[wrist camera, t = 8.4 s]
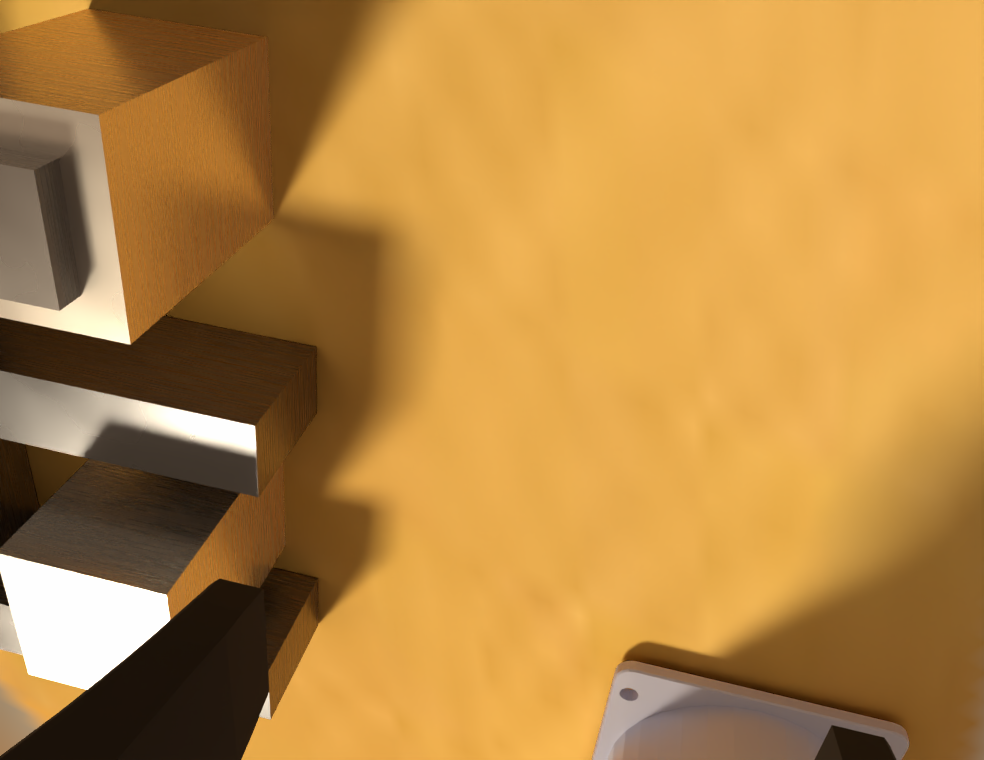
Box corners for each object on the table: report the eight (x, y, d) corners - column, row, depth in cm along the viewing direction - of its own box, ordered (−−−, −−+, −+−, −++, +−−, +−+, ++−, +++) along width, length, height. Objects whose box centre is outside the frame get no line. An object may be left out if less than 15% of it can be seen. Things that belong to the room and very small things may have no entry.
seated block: (285, 544, 26) (182, 715, 21) (158, 514, 26) (28, 674, 21) (282, 434, 24) (166, 595, 19) (143, 404, 24) (-5, 553, 19)
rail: (318, 624, 27) (270, 719, 24) (8, 549, 29) (-72, 630, 26) (312, -244, 15) (218, -260, 13) (-216, -306, 17) (-412, -334, 14)
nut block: (274, 218, 20) (111, 361, 15) (113, 188, 21) (-102, 316, 15) (267, 37, 18) (74, 126, 13) (89, 8, 19) (-172, 82, 13)
